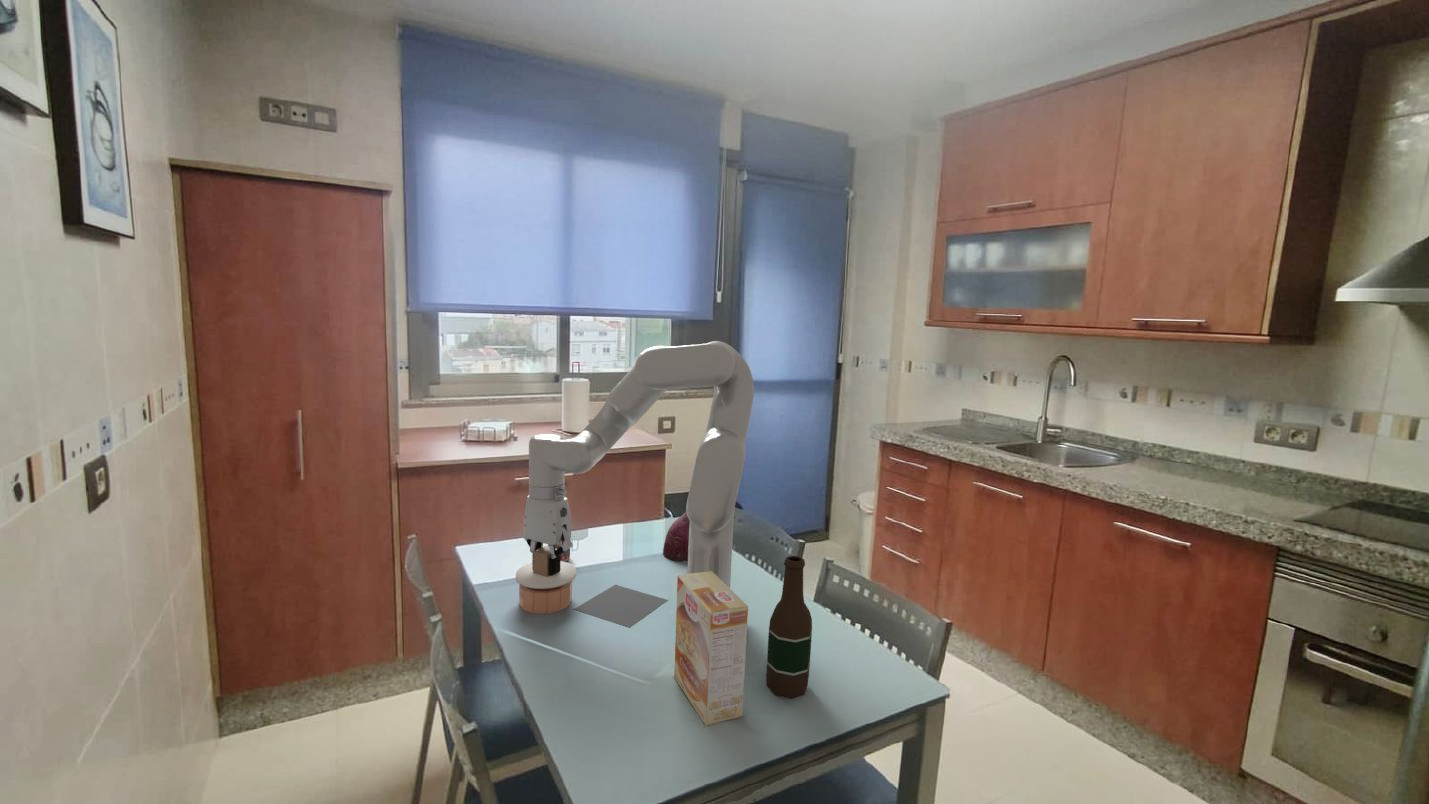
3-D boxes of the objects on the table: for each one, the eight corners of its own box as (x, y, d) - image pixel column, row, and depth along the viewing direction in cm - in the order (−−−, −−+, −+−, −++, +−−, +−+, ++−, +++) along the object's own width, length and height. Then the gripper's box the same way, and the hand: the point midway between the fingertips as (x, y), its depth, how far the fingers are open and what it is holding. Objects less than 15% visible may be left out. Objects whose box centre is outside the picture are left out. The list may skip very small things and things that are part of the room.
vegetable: (703, 564, 173) (720, 515, 171) (682, 571, 164) (700, 519, 162) (674, 546, 178) (691, 498, 176) (652, 552, 169) (669, 502, 167)
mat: (668, 602, 142) (668, 600, 142) (629, 629, 129) (629, 627, 129) (615, 586, 149) (615, 584, 149) (573, 611, 135) (573, 609, 135)
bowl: (581, 600, 141) (581, 579, 140) (547, 620, 131) (547, 597, 130) (544, 588, 146) (544, 568, 145) (509, 607, 136) (509, 585, 135)
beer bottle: (780, 669, 116) (788, 546, 113) (817, 685, 112) (825, 558, 108) (756, 687, 110) (763, 558, 107) (793, 705, 106) (802, 571, 102)
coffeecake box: (672, 676, 113) (676, 574, 110) (708, 669, 115) (712, 569, 113) (704, 727, 99) (709, 612, 96) (744, 717, 102) (750, 605, 99)
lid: (588, 572, 140) (588, 547, 140) (548, 594, 129) (548, 566, 128) (544, 560, 146) (545, 535, 145) (502, 579, 135) (502, 553, 134)
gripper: (588, 493, 134) (587, 573, 137) (530, 481, 142) (530, 557, 145) (564, 501, 128) (563, 586, 130) (505, 488, 136) (506, 568, 138)
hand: (546, 570), depth 137 cm, fingers closed on lid, 3 cm apart
